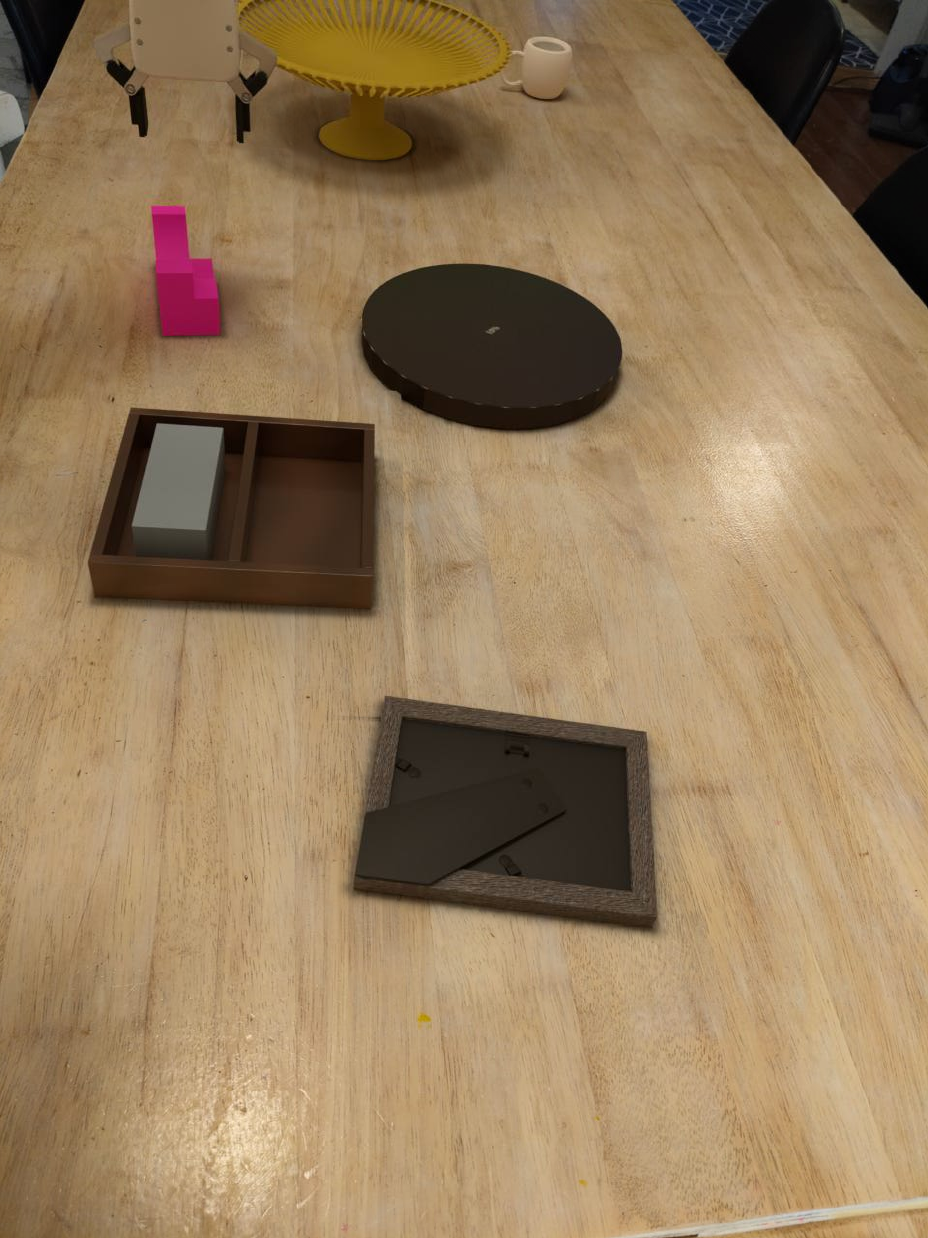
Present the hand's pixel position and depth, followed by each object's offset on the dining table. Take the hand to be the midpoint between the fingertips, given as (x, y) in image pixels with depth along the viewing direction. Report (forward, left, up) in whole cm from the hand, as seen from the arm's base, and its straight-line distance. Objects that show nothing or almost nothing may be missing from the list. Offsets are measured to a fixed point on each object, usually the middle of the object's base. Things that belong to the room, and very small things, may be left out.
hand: (192, 134), depth 105 cm
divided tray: (+8, -38, -19) cm, 43 cm away
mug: (+46, +75, -19) cm, 90 cm away
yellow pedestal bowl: (+18, +49, -19) cm, 55 cm away
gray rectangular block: (+3, -38, -18) cm, 42 cm away
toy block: (-2, 0, -19) cm, 19 cm away
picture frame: (+30, -68, -19) cm, 77 cm away
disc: (+33, -6, -19) cm, 39 cm away
